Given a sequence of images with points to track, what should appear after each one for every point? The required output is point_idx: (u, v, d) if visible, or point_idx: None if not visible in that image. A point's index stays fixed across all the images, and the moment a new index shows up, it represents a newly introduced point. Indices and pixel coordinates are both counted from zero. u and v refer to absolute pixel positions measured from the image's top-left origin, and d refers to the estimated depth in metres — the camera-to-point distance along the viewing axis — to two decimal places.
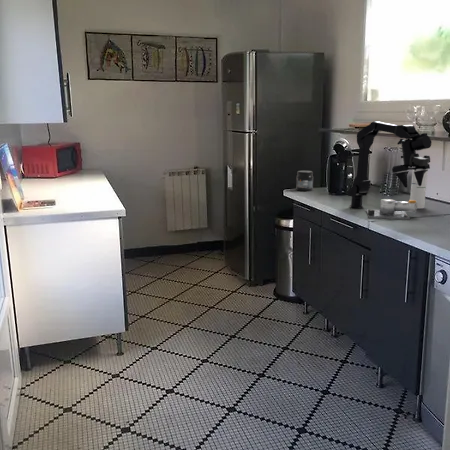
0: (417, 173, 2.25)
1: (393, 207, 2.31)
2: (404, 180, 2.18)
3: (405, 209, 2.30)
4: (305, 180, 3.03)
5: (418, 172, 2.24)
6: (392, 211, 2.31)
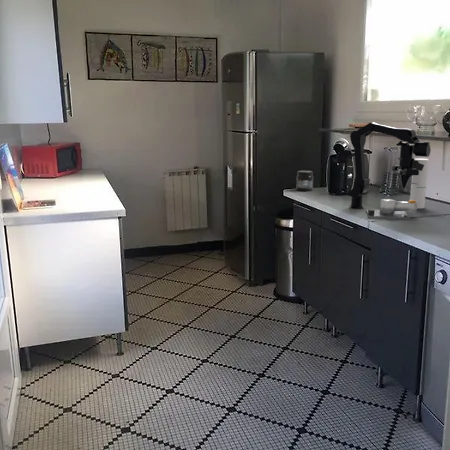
0: None
1: (393, 207, 2.31)
2: (406, 181, 2.35)
3: (405, 209, 2.30)
4: (305, 180, 3.03)
5: None
6: (392, 211, 2.31)
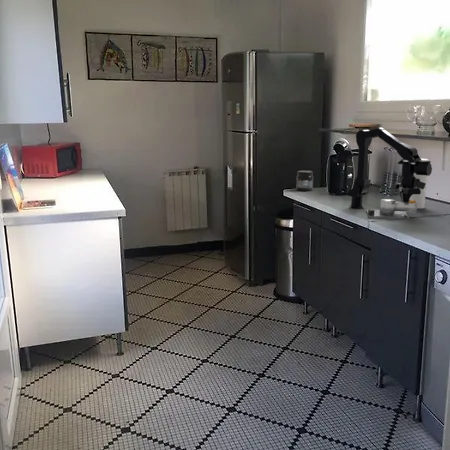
0: None
1: (393, 207, 2.31)
2: (407, 200, 2.33)
3: (405, 209, 2.30)
4: (305, 180, 3.03)
5: None
6: (392, 211, 2.31)
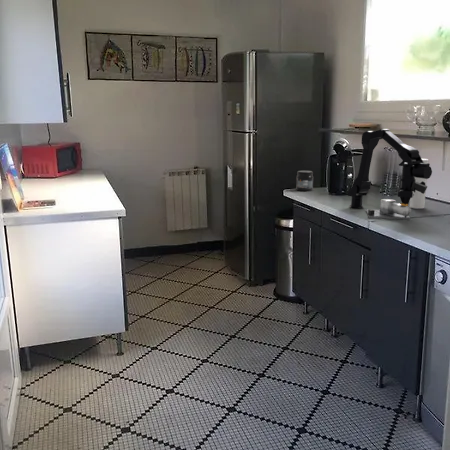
0: None
1: (386, 207, 2.31)
2: (406, 203, 2.26)
3: (395, 211, 2.26)
4: (305, 180, 3.03)
5: None
6: (385, 211, 2.31)
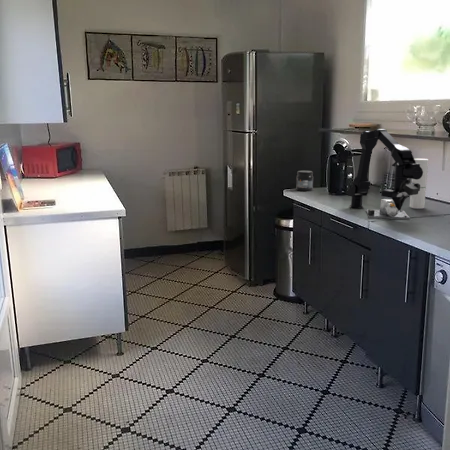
0: None
1: (383, 207, 2.32)
2: (398, 204, 2.24)
3: (385, 211, 2.27)
4: (305, 180, 3.03)
5: None
6: (381, 210, 2.33)
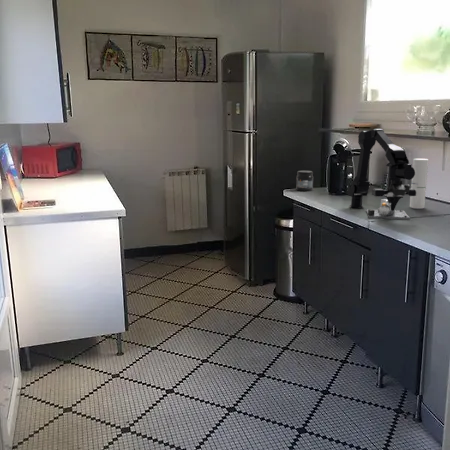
0: (393, 197, 2.24)
1: None
2: (390, 204, 2.24)
3: None
4: (305, 180, 3.03)
5: (394, 197, 2.24)
6: None
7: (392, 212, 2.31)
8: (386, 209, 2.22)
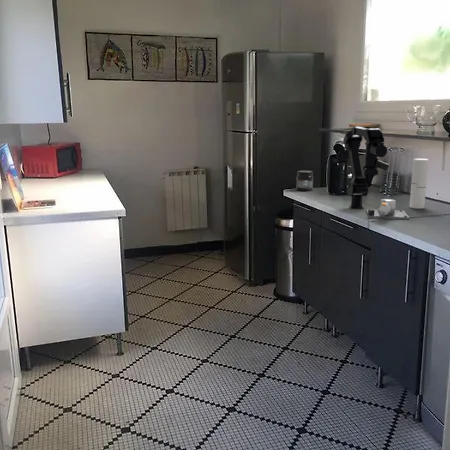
0: None
1: None
2: (370, 181, 2.36)
3: None
4: (305, 180, 3.03)
5: None
6: None
7: (392, 212, 2.31)
8: (386, 209, 2.22)
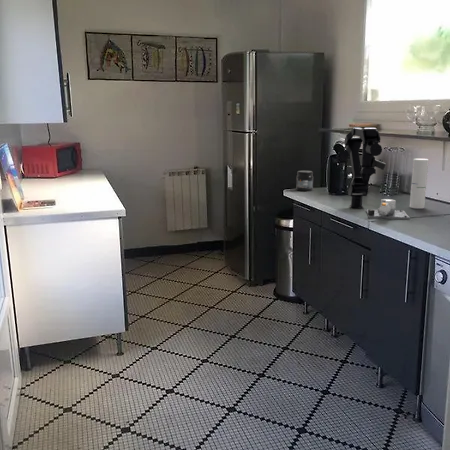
0: None
1: None
2: (367, 180, 2.37)
3: None
4: (305, 180, 3.03)
5: None
6: None
7: (392, 212, 2.31)
8: (386, 209, 2.22)
